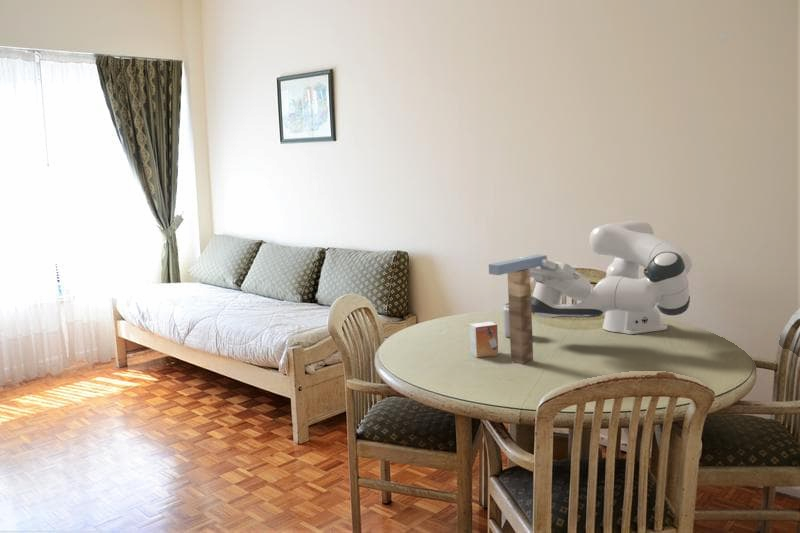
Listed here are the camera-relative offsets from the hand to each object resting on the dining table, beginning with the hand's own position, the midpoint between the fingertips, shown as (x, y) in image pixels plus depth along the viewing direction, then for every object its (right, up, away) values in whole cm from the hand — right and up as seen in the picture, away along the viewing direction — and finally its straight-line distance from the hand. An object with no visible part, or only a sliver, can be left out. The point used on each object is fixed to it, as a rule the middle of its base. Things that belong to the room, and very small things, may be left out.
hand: (532, 260), depth 233 cm
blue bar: (-5, -3, -3) cm, 7 cm away
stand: (-3, -33, +2) cm, 33 cm away
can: (-1, -28, +32) cm, 42 cm away
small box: (-14, -32, +12) cm, 37 cm away
